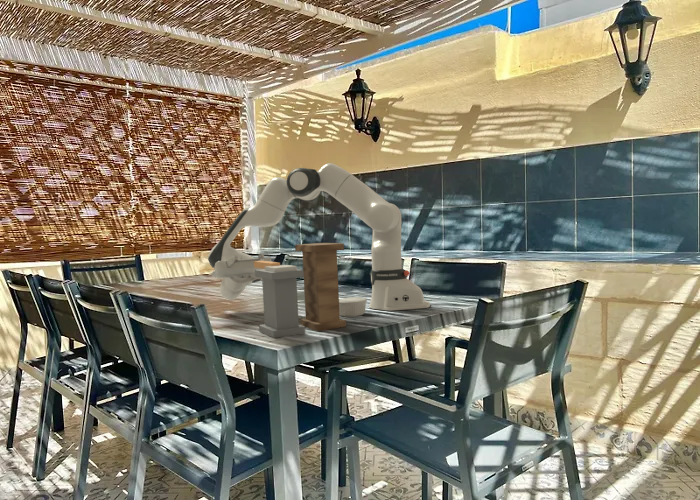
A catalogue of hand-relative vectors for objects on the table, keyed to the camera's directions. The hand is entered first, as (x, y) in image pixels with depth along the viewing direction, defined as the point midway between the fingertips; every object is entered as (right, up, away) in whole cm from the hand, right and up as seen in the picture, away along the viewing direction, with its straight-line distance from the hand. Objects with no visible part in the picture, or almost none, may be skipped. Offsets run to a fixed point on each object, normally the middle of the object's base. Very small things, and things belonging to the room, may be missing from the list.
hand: (249, 256), depth 186 cm
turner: (+10, -4, -17) cm, 20 cm away
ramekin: (+35, -21, +5) cm, 41 cm away
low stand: (+14, -23, -21) cm, 34 cm away
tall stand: (+26, -22, -14) cm, 37 cm away
